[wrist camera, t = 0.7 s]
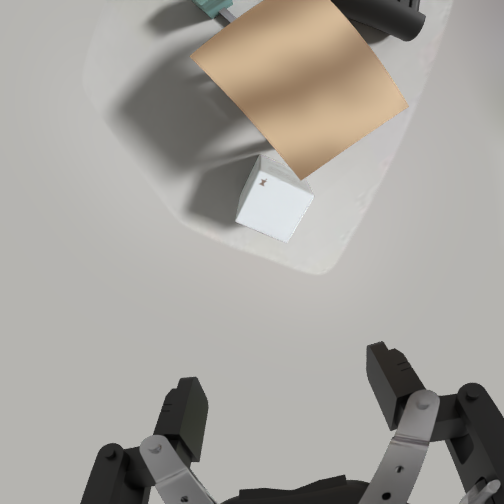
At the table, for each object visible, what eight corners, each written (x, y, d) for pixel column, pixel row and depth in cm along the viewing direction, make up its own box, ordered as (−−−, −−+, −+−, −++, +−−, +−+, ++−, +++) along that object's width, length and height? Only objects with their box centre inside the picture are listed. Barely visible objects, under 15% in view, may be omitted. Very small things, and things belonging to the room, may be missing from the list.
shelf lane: (219, 69, 27) (189, 56, 16) (290, 18, 23) (305, -24, 12) (287, 146, 31) (300, 180, 20) (357, 98, 28) (409, 106, 16)
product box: (238, 195, 35) (232, 222, 29) (259, 152, 32) (258, 168, 26) (283, 215, 36) (287, 245, 30) (306, 174, 33) (316, 196, 27)
